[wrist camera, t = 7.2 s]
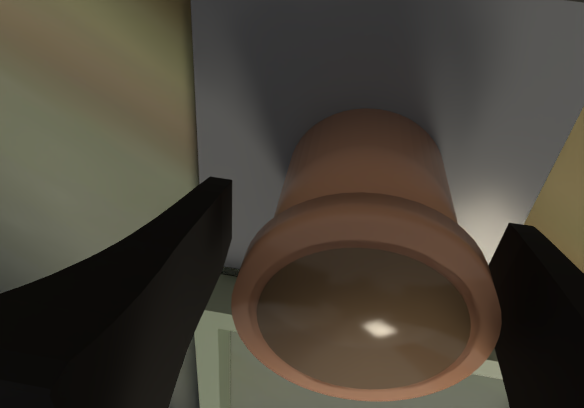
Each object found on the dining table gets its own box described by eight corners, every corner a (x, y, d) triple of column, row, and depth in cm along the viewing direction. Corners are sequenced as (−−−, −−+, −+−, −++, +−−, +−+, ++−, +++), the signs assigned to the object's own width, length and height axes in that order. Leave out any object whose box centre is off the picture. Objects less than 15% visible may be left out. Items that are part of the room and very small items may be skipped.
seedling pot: (274, 235, 17) (233, 381, 12) (280, 85, 13) (226, 205, 8) (432, 257, 16) (458, 419, 11) (482, 107, 13) (548, 249, 8)
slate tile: (207, 254, 19) (203, 263, 18) (194, -48, 12) (188, -45, 12) (477, 299, 18) (480, 309, 17) (624, 3, 11) (632, 8, 11)
